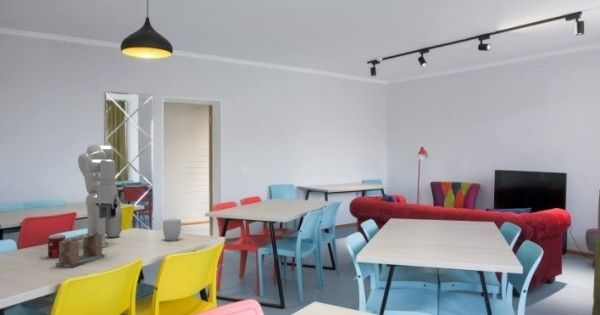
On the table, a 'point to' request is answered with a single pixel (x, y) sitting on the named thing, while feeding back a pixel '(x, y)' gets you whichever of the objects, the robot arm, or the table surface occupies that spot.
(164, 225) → the mug
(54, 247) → the canned food
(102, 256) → the rod stand
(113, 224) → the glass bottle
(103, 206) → the dark grey block
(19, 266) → the table surface
